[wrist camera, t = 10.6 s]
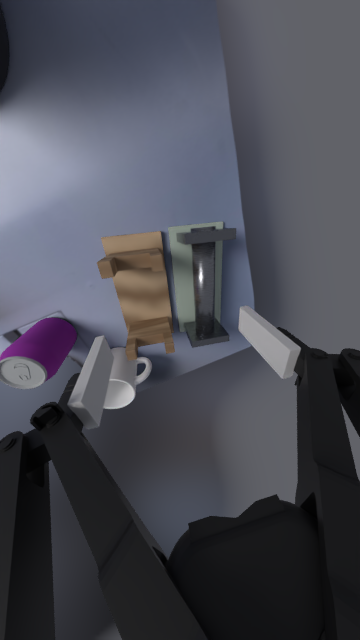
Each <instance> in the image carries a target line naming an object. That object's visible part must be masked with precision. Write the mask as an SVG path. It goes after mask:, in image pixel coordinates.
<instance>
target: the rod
mask: <svg viewBox="0 0 360 640" xmlns="http://www.w3.org/2000/svg"><path fill="white" fill-rule="evenodd" d="M190 230H191V231H190V232H181V233H176V237H177V242H179V243H182V244H185V245H187V244H191V249H192V269H193V289H194V308H195V321H193V322H187V323H184V328H185V330H186V333H187V336H188V338H189V341H190V343H191V346H192V348H193V347H198V346H204V345H209V344H215V343H220V342H225V341H229V334H228V333H227V332H226V330H225V329H224V328H223V327H222V325H221V324H220V323H219V322H218V320H217V319H216V318H215V247H216V241H223V240H231V239H236V228H226V229H216V226H210V227H200V228H191V229H190Z"/></svg>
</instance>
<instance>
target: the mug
mask: <svg viewBox="0 0 360 640" xmlns="http://www.w3.org/2000/svg"><path fill="white" fill-rule="evenodd" d="M125 350H126V348H124V347H116V348H112V349H111V352H112V354H113V356H114V361H113V365H112V370H111V375H110V379H109V384H108V388H107V393H106V397H105V402H104V406H103V408H107V409H116V408H121V407H124V406H126V405H128V404H129V403H131V402H132V401H133V399H134V397H135V391H136V385H137V384H139V383H141V382H143V381H144V380H145V379H146V378H147V377H148V376H149V374H150V372H151V370H152V363H151V361H150V360H149V359H148V358H146V357H138V358H137V359H136V360H130V361H128V359H127V356H126V352H125ZM139 363H145V364H146V368H145V370H144V372H143V373H142V374H140V375H138V376H137V364H139Z"/></svg>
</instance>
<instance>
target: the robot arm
mask: <svg viewBox="0 0 360 640" xmlns="http://www.w3.org/2000/svg"><path fill="white" fill-rule="evenodd" d="M8 66H9V43H8V35H7V29H6V24H5V20H4V16H3V12H2V9H1V5H0V91H1V90H2V88H3V86H4V83H5V80H6V77H7V73H8ZM239 331H240V332H241V333H242V334H243V335H244V337H245V338H246V339H247V340H248V341H249V342H250V343H251V344H252V346H253V347H254V348H255V349H256V350H257V351H258V352H259V353H260V354H261V356H262V357H263V358H264V359H265V360H266V361H267V362H268V363H269V365H270V366H271V367H272V368H273V369H274V370H275V371H276V372H277V374H278V375H279V376H280V377H281V378H282V379H285V378H288V377H292V375H293V372H294V371H295V372H296V373H297V374H298V376H297V379H296V382H295V385H297V442H298V443H297V446H298V447H297V448H298V484H297V490H296V497H295V504H292V503H290V502H287V501H283V500H279V498H278V496H277V494H276V495H273V496H270V497H267V498H264V499H261V500H258V501H256V502H254V503H253V504H252V505H251V506H250V507H249V508H248V509H246V510H245V511H244V512H243V513H242V514H241V515H240V516H239V517H237V518H229V517H217V516H209V517H206V518H203V519H200V520H197V521H194V522H191V523H189V524H188V525H189V529H188V530H187V531H186V532H185V533H184V534H183V535H182V536H181V537H180V539H179V540H178V542H177V543H176V545H175V546H174V548H173V551H172V552H171V554H170V557H169V559H168V558H167V556H166V555H165V553H164V552H163V550H162V549H161V547H160V546H159V544H158V543H157V542H156V540H155V539H154V538H153V536H152V535H151V534H150V532H149V531H148V529H147V528H146V527H145V525H144V524H143V522H142V521H141V519H140V518H139V516H138V515H137V513H136V512H135V510H134V509H133V507H132V506H131V504H130V503H129V501H128V500H127V498H126V497H125V495H124V494H123V492H122V491H121V489H120V488H119V487H118V485H117V483H116V482H115V480H114V479H113V477H112V476H111V474H110V473H109V471H108V470H107V468H106V467H105V465H104V464H103V462H102V461H101V460H100V458H99V457H98V455H97V454H96V452H95V451H94V449H93V448H92V446H91V445H90V443H89V442H88V440H87V439H86V437H85V436H84V434H83V433H82V432H81V431H82V428H83V425H84V426H85V427H86V429H91V428H95V427H99V425H100V420H101V415H102V411H103V406H104V402H105V397H106V393H107V388H108V384H109V379H110V375H111V370H112V365H113V361H114V356H113V354H112V352H111V349H110V347H109V345H108V343H107V341H106V338H105V336H99V337H95V340H94V342H93V345H92V347H91V349H90V352H89V354H88V356H87V359H86V361H85V363H84V366H83V368H82V371H81V373H77V374H74V375H73V376H72V377H71V379H70V380H69V381H68V384H67V385H66V388H65V390H64V393H63V394H62V396H61V398H60V400H59V402H58V404H57V403H56V402H50V403H46V404H45V405H43V406H41V407H40V408H39V409H38V410H36V412H35V413H34V414H33V415H32V417H31V419H30V423H31V424H32V425H33V426H34V427H35V428H36V429H33V430H31V431H30V432H28V433H26V434H23V433H22V432H20V431H16V432H13V433H11V434H8V435H7V436H6V437H4V438H3V439H2V440H1V441H0V640H55V624H54V598H53V571H52V544H51V517H50V492H49V491H50V490H49V463H48V461H50V460H52V462H53V464H54V466H55V469H56V471H57V473H58V475H59V478H60V480H61V482H62V485H63V487H64V489H65V491H66V493H67V496H68V498H69V501H70V503H71V505H72V508H73V510H74V512H75V515H76V517H77V519H78V521H79V524H80V526H81V528H82V531H83V533H84V535H85V537H86V540H87V542H88V544H89V547H90V549H91V551H92V554H93V556H94V558H95V560H96V563H97V566H98V570H99V573H98V579H99V583H100V586H101V589H102V592H103V595H104V597H105V599H106V602H107V604H108V607H109V609H110V611H111V614H112V616H113V619H114V621H115V623H116V626H117V628H118V631H119V633H120V635H121V638H122V640H360V481H359V479H358V477H357V473H356V469H355V464H354V460H353V455H352V451H351V447H350V442H349V438H348V433H347V429H346V424H345V420H344V415H343V411H342V406H343V407H344V409H345V411H346V413H347V415H348V417H349V418H350V420H351V422H352V424H353V426H354V427H355V430H356V431H357V433H358V435H359V437H360V351H359V350H355V349H350V348H349V349H343V350H342V352H341V354H327V353H326V352H324V351H322V350H320V349H314V348H309V347H308V346H307V345H305V344H304V343H303V342H301V341H300V340H299V339H297V338H295V336H293V335H291V333H289V332H288V331H287V330H285V329H282V328H280V327H278V328H275V327H274V326H273V325H271V324H270V323H269V322H268V321H266V320H265V319H264V318H263V317H261V316H260V315H259V314H257V313H256V312H255V311H254V310H252V309H251V308H250V307H249V306H242V307H240V315H239ZM341 404H342V406H341Z"/></svg>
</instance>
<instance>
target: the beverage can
mask: <svg viewBox="0 0 360 640" xmlns="http://www.w3.org/2000/svg"><path fill="white" fill-rule="evenodd" d="M76 339H77V333H76V331H75V329H74V327H73V326H72V325H71V324H70V323H68V322H67V321H65V320H62V319H59V318H53V317H52V318H45V319H43V320H40V321H39V322H37V323H36V324H35V325H34V326H33V327H31V328H30V329H29V330H28V331H27V332H26V333H24V334H23V335H22V336H21V337H20V338H18V339H17V340H16V341H15V342H14V343H13V344H11V345H10V346H9V347H8V348H7V349H6V350H5V351H4V352H3V353H2V354H1V357H0V381H2V382H3V383H5V384H6V385H8V386H11V387H14V388H19V389H31V388H35V387H38V386H40V385H41V384H43V383H44V382H45V381H47V380H48V379H50V378H51V377H52V376H53V375H55V374H56V372H57V371H58V369H59V367H60V366H61V364H62V363H63V361H64V360H65V358H66V356H67V355H68V353H69V352H70V350H71V348H72V347H73V345H74V343H75V341H76Z"/></svg>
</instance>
